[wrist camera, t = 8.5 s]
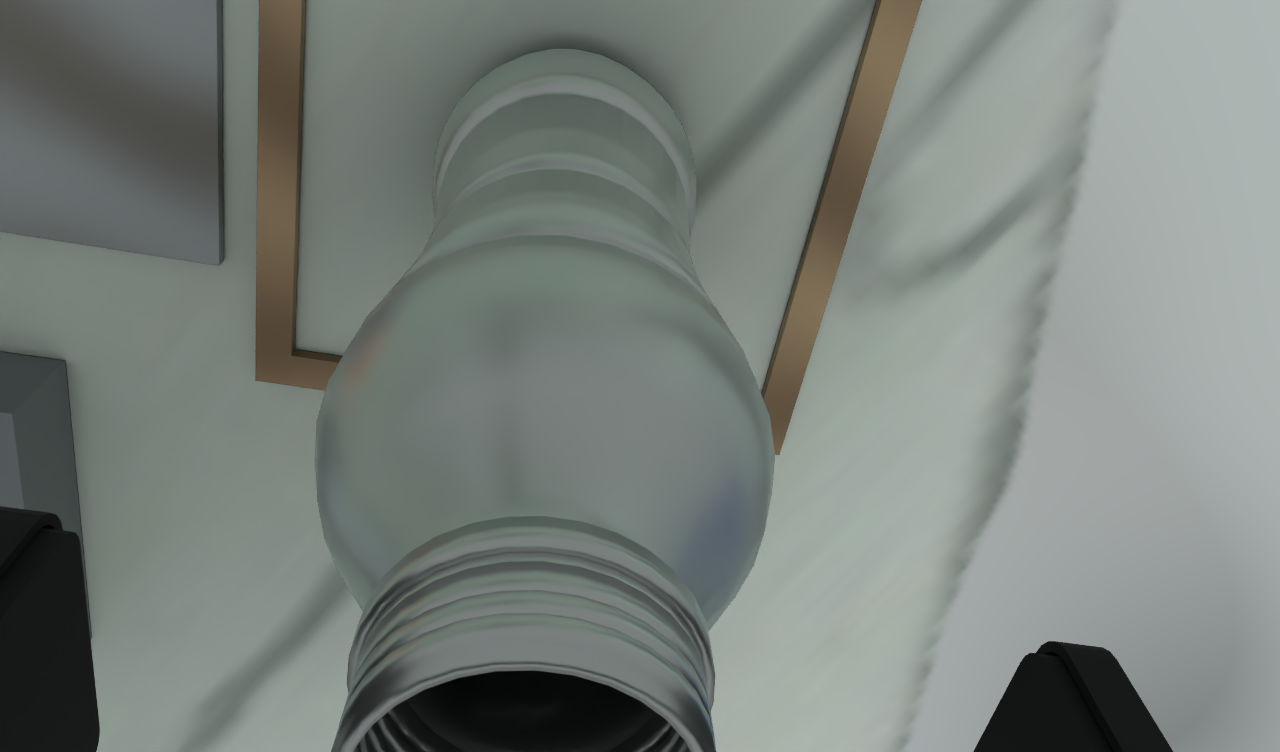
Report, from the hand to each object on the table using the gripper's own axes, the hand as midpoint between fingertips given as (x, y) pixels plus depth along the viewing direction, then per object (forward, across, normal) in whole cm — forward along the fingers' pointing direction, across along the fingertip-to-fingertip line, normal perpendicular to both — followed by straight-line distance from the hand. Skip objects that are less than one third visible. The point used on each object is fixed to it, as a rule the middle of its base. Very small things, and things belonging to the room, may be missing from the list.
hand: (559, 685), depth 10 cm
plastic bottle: (+19, 0, 0) cm, 19 cm away
